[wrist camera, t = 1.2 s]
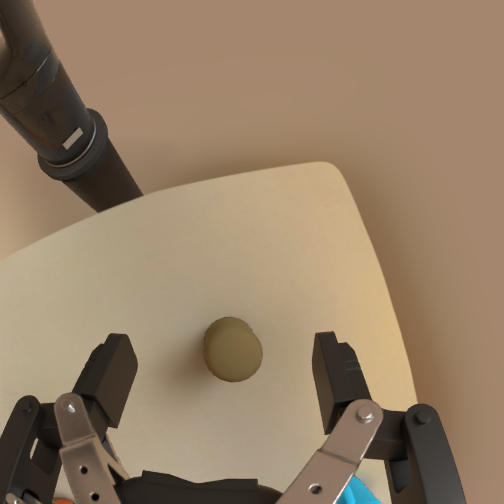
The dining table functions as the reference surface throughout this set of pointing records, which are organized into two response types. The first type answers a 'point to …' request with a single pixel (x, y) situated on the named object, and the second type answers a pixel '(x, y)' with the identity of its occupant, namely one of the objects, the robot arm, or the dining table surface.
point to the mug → (357, 494)
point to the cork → (232, 350)
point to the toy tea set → (63, 501)
